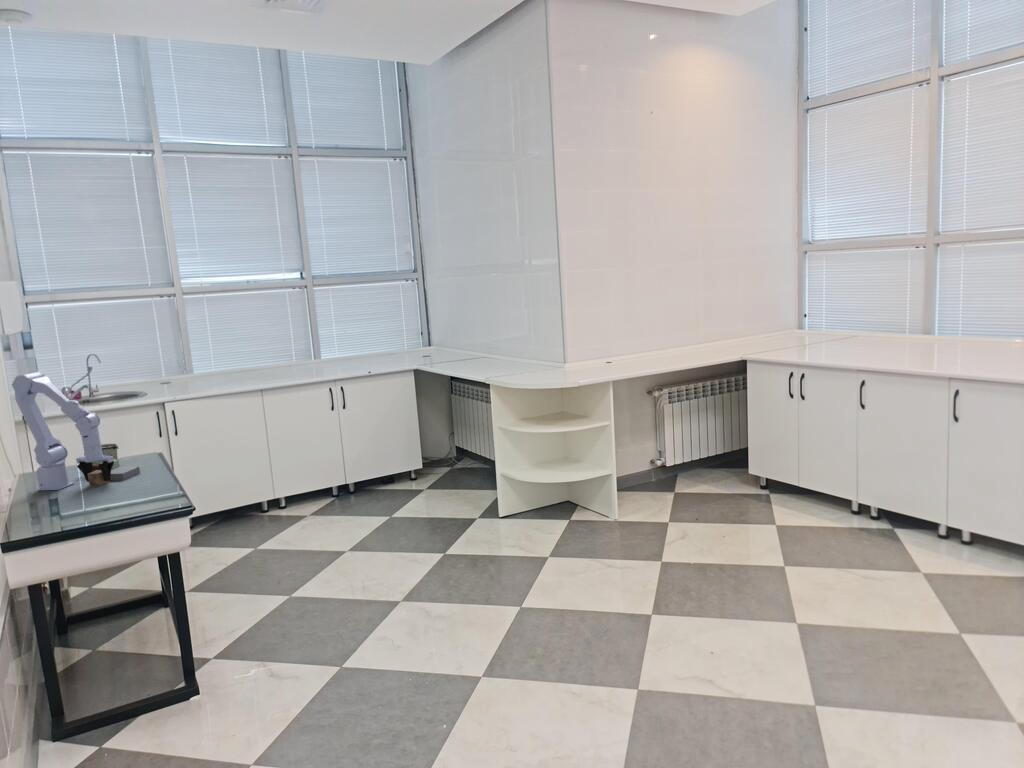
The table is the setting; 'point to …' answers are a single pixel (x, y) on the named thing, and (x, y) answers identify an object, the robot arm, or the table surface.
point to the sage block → (115, 464)
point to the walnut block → (96, 478)
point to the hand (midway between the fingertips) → (98, 480)
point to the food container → (106, 454)
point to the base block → (123, 473)
